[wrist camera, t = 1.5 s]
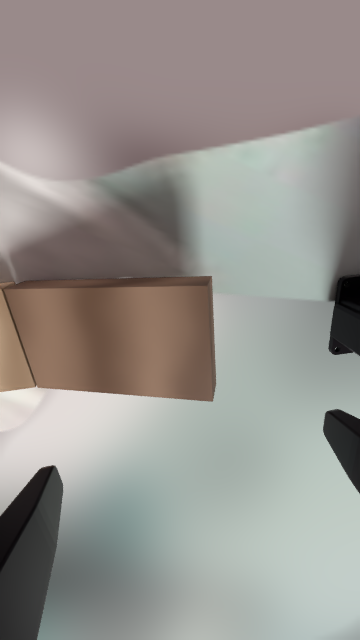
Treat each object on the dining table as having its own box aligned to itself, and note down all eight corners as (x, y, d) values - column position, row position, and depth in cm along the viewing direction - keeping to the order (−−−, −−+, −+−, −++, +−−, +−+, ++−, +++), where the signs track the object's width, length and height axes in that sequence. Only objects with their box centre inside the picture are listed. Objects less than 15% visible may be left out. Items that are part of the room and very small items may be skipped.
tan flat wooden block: (211, 276, 15) (207, 285, 13) (216, 383, 18) (212, 401, 16) (25, 280, 18) (3, 289, 16) (53, 372, 21) (37, 387, 19)
